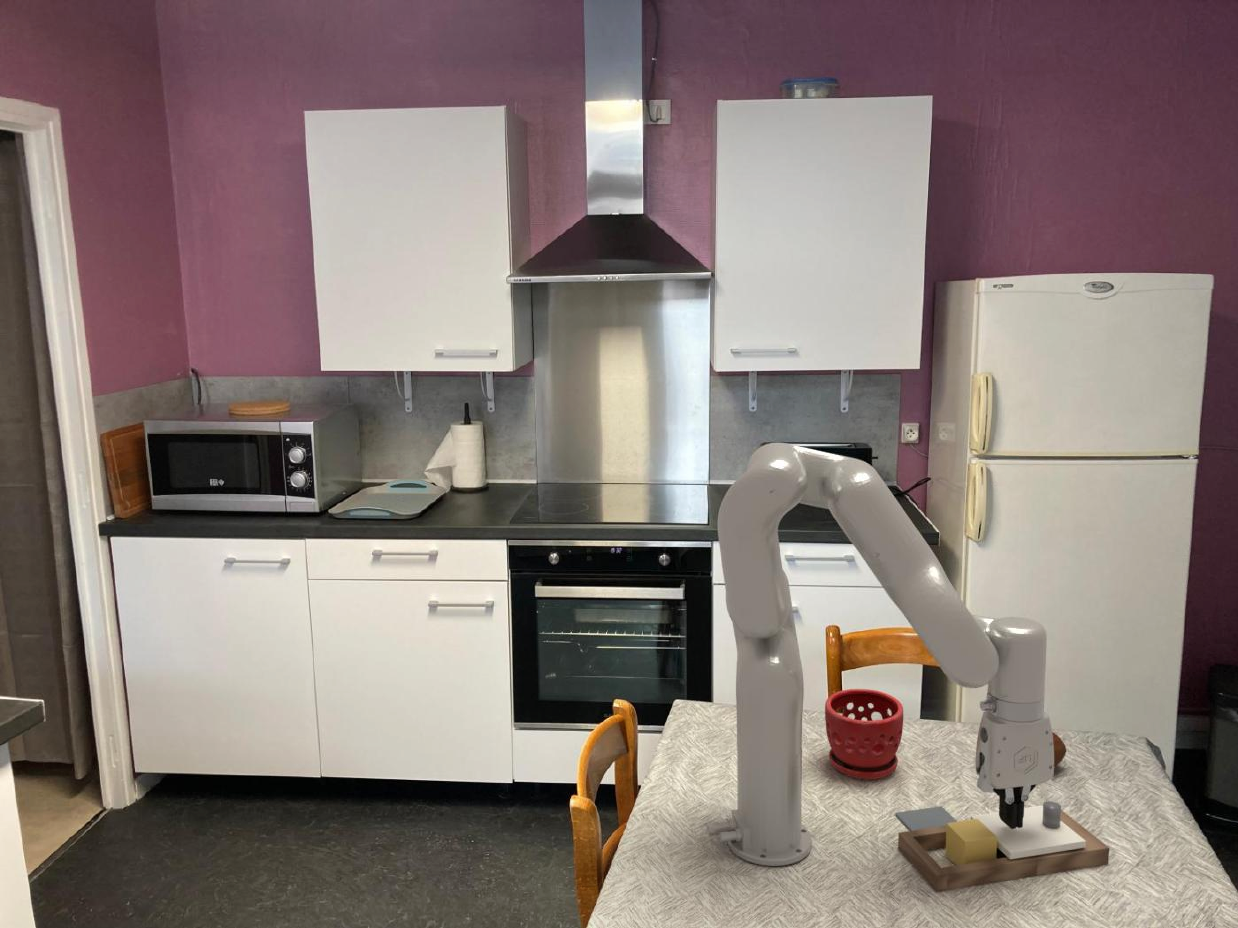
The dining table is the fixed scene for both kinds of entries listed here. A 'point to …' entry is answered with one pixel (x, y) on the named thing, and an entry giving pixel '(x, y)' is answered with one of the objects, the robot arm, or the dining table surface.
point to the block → (970, 842)
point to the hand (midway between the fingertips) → (1011, 823)
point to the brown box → (1000, 868)
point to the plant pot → (864, 733)
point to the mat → (925, 818)
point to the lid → (1033, 832)
